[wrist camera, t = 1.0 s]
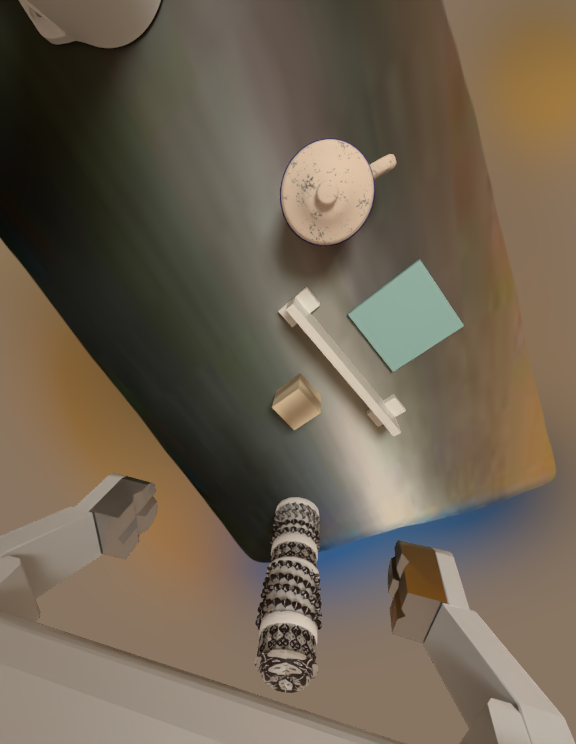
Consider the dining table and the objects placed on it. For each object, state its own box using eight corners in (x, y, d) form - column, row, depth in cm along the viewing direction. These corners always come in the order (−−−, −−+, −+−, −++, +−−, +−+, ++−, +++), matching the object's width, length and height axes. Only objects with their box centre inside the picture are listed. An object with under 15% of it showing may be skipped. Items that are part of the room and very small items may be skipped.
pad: (347, 313, 44) (347, 314, 43) (418, 259, 40) (420, 259, 40) (392, 370, 47) (392, 371, 46) (462, 324, 43) (464, 325, 42)
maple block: (276, 390, 50) (271, 407, 46) (300, 373, 48) (298, 388, 44) (296, 412, 51) (294, 430, 47) (320, 395, 50) (320, 412, 45)
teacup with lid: (307, 254, 41) (302, 265, 31) (274, 182, 38) (257, 166, 27) (397, 207, 38) (428, 201, 27) (370, 124, 35) (393, 81, 24)
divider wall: (278, 309, 44) (274, 319, 40) (306, 286, 43) (305, 293, 38) (377, 423, 51) (382, 443, 46) (404, 407, 49) (413, 425, 45)
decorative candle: (273, 493, 59) (245, 658, 37) (322, 497, 59) (325, 668, 36) (273, 527, 63) (247, 695, 41) (319, 531, 63) (319, 705, 40)
